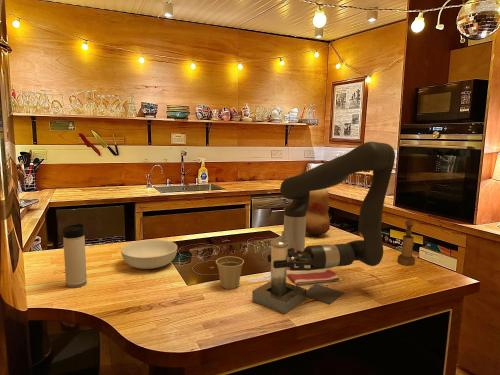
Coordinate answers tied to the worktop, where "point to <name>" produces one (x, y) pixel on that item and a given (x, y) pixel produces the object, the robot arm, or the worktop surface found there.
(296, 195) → the robot arm
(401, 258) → the pepper mill
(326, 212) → the butternut squash
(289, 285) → the bore block
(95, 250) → the worktop surface
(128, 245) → the serving bowl
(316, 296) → the rubber mat
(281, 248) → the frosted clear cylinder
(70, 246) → the travel mug
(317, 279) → the dish towel
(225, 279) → the flower pot
